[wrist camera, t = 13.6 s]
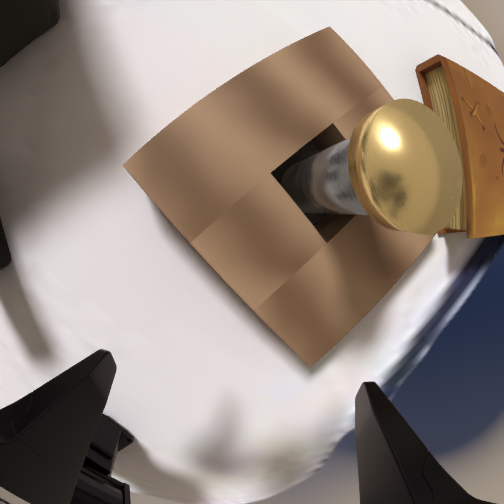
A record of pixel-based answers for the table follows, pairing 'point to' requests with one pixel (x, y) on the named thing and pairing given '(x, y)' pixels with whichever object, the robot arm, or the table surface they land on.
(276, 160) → the socket block
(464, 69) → the diary
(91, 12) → the table surface
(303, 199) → the pin
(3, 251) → the electronic device
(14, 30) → the flower pot
